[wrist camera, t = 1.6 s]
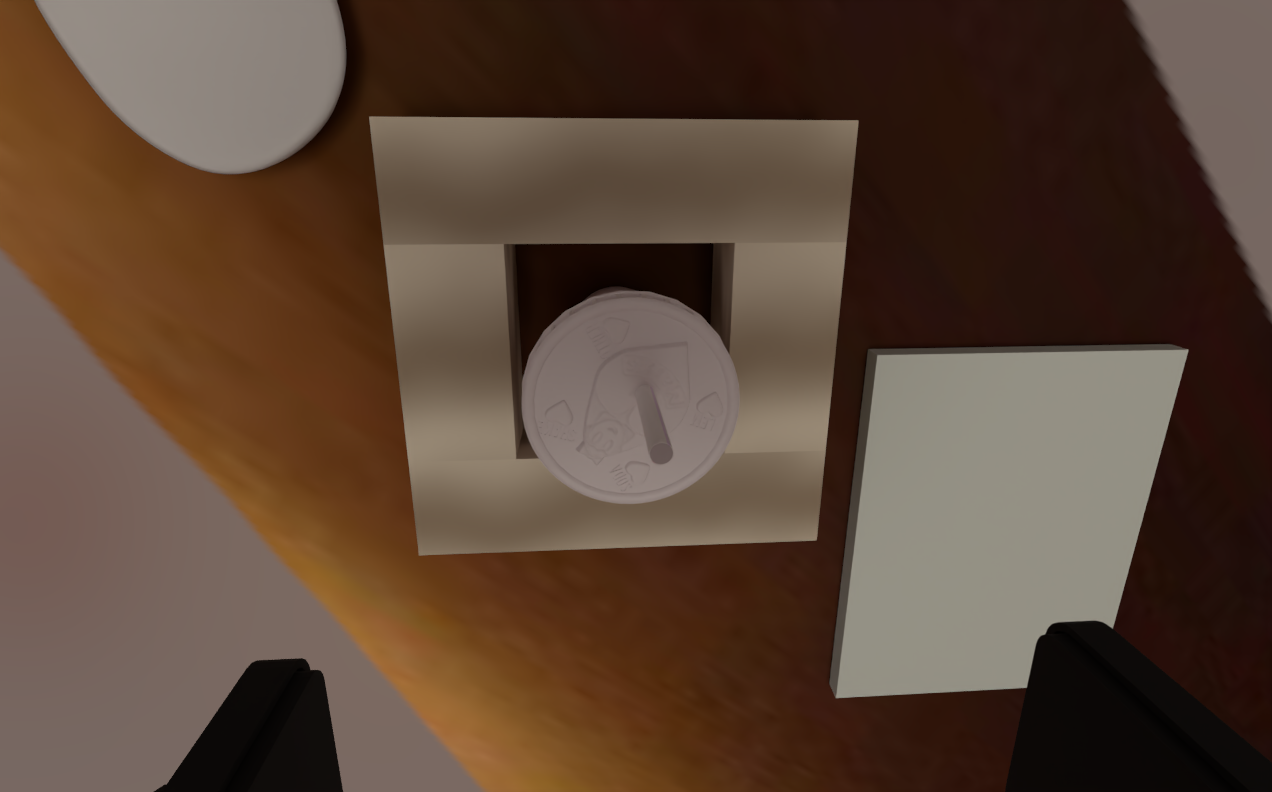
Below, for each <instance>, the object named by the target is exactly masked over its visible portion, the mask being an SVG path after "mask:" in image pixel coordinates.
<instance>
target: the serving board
mask: <svg viewBox="0 0 1272 792" xmlns="http://www.w3.org/2000/svg"><path fill="white" fill-rule="evenodd" d="M1187 353H1188V349H1184V348H1181V347H1178V346H1174V345H1171V344H1145V345H1085V346H1026V347H967V348H908V349H868V354H867V362H866V371H865V380H864V388H863V397H862V406H861V414H860V423H859V431H858V440H857V449H856V457H855V466H854V475H853V483H852V492H851V501H850V509H849V518H848V526H847V535H846V544H845V552H844V561H843V570H842V578H841V587H840V596H839V604H838V613H837V622H836V630H835V639H834V647H833V656H832V665H831V673H830V682H829V684H830V686H831V688H832V691H833V693H834V695H835V697H836V698H846V697H864V696H882V695H901V694H919V693H937V692H956V691H974V690H992V689H1011V688H1027V684H1028V680H1029V675H1030V670H1031V665H1032V661H1033V656H1034V651H1035V647H1036V643H1037V640H1038V638H1039V637H1040V636H1041V635H1045V634H1046V631H1047V629H1048V628H1049V626H1050V625H1051V624H1053V623H1057V622H1073V621H1094V620H1096V621H1100V622H1103V623H1105V624H1107V625H1108V626H1110V627H1111V628H1112V629H1113V626H1114V622H1115V618H1116V615H1117V611H1118V607H1119V604H1120V600H1121V596H1122V592H1123V589H1124V585H1125V581H1126V578H1127V574H1128V570H1129V567H1130V563H1131V559H1132V556H1133V552H1134V548H1135V545H1136V541H1137V537H1138V534H1139V530H1140V526H1141V523H1142V519H1143V515H1144V512H1145V508H1146V504H1147V501H1148V497H1149V493H1150V489H1151V486H1152V482H1153V478H1154V475H1155V471H1156V467H1157V464H1158V460H1159V456H1160V453H1161V449H1162V445H1163V442H1164V438H1165V434H1166V431H1167V427H1168V423H1169V420H1170V416H1171V412H1172V409H1173V405H1174V401H1175V398H1176V394H1177V390H1178V387H1179V383H1180V379H1181V375H1182V372H1183V368H1184V364H1185V361H1186V357H1187Z"/></svg>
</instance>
